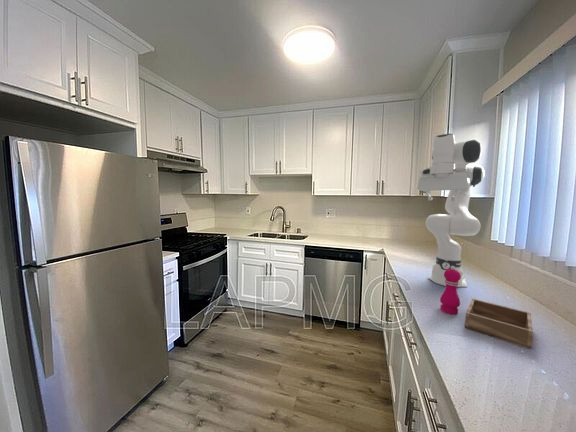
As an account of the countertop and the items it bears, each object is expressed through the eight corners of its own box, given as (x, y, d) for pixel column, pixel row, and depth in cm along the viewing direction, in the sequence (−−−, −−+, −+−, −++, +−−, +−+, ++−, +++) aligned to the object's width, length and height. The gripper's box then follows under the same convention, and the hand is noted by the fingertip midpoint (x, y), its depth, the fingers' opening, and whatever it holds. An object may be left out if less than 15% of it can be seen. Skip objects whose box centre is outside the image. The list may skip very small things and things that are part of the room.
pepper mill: (437, 310, 107) (441, 265, 105) (441, 305, 112) (445, 262, 110) (457, 316, 102) (461, 269, 100) (460, 311, 107) (464, 266, 105)
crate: (470, 311, 107) (472, 298, 106) (528, 327, 95) (530, 312, 94) (464, 328, 93) (465, 312, 93) (531, 349, 81) (533, 331, 81)
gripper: (472, 168, 108) (470, 200, 109) (421, 172, 122) (420, 200, 123) (469, 167, 103) (467, 200, 104) (416, 171, 118) (416, 200, 119)
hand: (441, 200), depth 114 cm, fingers open, 8 cm apart
